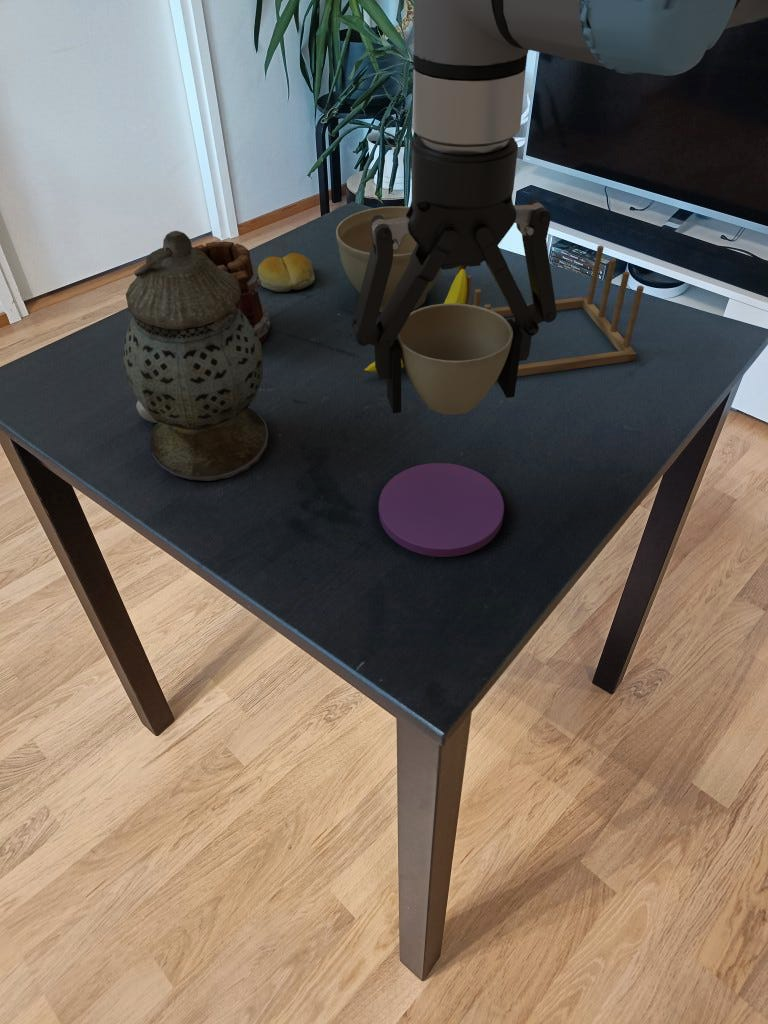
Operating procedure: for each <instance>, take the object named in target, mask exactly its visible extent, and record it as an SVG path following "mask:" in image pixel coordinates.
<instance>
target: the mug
mask: <svg viewBox="0 0 768 1024" xmlns="http://www.w3.org/2000/svg"><path fill="white" fill-rule="evenodd" d="M194 248H197V249H199V250H200V251H202V252H203V253H204V254H205V255H206V256H207V257H208V258H209V259H210V260H211V261H212V262H213V263H214V264H215V265H216V266H217V267H219V268H220V269H222V270H224V271H226V272H228V273H230V274H231V275H232V276H233V277H234V278H235V279H236V280H238V283H239V287H240V291H241V299H240V303H239V305H238V307H237V308H238V309H239V310H240V311H241V312H242V313H243V314H244V315H245V316H246V318H247V320H248V321H249V323H250V324H251V326H252V327H253V329H254V331H255V333H256V335H257V337H258V339H259V341H260V343H261V344H262V343H263V342H264V341H265V340H266V338H267V336H268V333H269V329H270V327H271V321H270V316H269V309H268V307H265V306H264V305H263V304H262V303H261V299H260V294H259V291H258V290H259V289H260V287H261V286H262V285H261V281H260V278H259V274H258V267H255V266H254V265H253V264H252V260H251V259H252V258H251V255H250V250H249V249H248V248H247V247H246V246H245V245H243V244H241V243H235V242H232V241H226V240H225V241H224V240H223V241H210V242H206V244H205V246H204V245H203V244H199V245H196V246H194Z"/></svg>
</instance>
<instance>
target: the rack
mask: <svg viewBox="0 0 768 1024" xmlns="http://www.w3.org/2000/svg"><path fill="white" fill-rule="evenodd" d="M604 248H605V247H604V246H603V245H597V248H596V253H595V258H594V263H593V268H592V274H591V279H590V285H589V289H588V293H587V296H580V297H571V298H564V299H555V305H556V312H559V311H567V310H574V309H581V308H582V310H584V312H585V313H586V314H587V315H588V316H589V318H590V319H591V320H592V321H593V322H594V324H595V325H596V326H597V327H598V328H599V330H600V331H601V332H602V333H603V334H604V336H605V337H606V338H607V339H608V340H609V341H610V343H611V344H612V345H613V347H615V349H616V350H617V351H610V352H603V353H595V354H587V355H581V356H574V357H566V358H565V357H564V358H558V359H550V360H543V361H536V362H528V363H522V364H520V363H519V366H518V373H517V378H518V377H525V376H533V375H541V374H547V373H553V372H561V371H569V370H576V369H583V368H590V367H598V366H605V365H612V364H619V363H620V364H621V363H626V362H627V363H628V362H634V361H635V359H636V355H637V352H636V351H635V350H634V348H633V347H631V345H630V344H631V340H632V337H633V332H634V330H635V329H634V328H635V325H636V320H637V317H638V313H639V309H640V304H641V301H642V297H643V293H644V289H645V287H644V285H637V286H636V289H635V290H636V291H635V295H634V299H633V303H632V307H631V311H630V314H629V320H628V323H627V327H626V331H625V334H624V335H625V336H624V337H623V336H622V335H621V334H620V333H619V332H618V330H617V329H618V325H619V321H620V316H621V312H622V307H623V304H624V299H625V295H626V291H627V287H628V282H629V278H630V271H623V272H622V277H621V281H620V286H619V290H618V294H617V299H616V304H615V308H614V312H613V315H612V321H611V322H610V321H609V320H608V319H607V318H606V316H605V313H606V309H607V304H608V300H609V296H610V291H611V287H612V282H613V278H614V272H615V267H616V263H617V259H616V258H614V257H611V258H610V259H609V261H608V268H607V272H606V277H605V281H604V287H603V291H602V296H601V301H600V305H599V308H598V307H597V306H596V305H595V304H594V303H593V302H594V299H595V298H594V297H595V292H596V287H597V282H598V278H599V272H600V268H601V262H602V257H603V252H604ZM461 269H462V265H461V266H458V267H456V275H457V274H458V273H459V272H460V270H461ZM466 277H467V294H466V301H465V304H467V305H471V296H472V283H473V282H472V281H473V276H472V275H471V274H466ZM481 297H482V289H480V288H476V289H474V298H473V305H474V306H479V307H481ZM526 304H527V306H528V305H530V304H533V302H531V303H526ZM483 308H486V309H489V310H491V311H494V312H496V313H498V314H499V315H501V316H502V317H504V318H509V317H510V318H511V317H514V315H513V313H512V312H511V310H510V308H509V306H508V305H507V306H499V307H492V305H491V304H489V303H486V304H484V307H483ZM497 380H498V378H497Z"/></svg>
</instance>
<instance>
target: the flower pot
mask: <svg viewBox="0 0 768 1024" xmlns="http://www.w3.org/2000/svg"><path fill="white" fill-rule="evenodd" d="M507 320H508V319H506V317H502V316H501V315H499V314H498V313H496V312H494V311H491V310H489V309H486V308H484V307H482V306H480V307H479V306H474V304H470V305H467V304H457V303H447V304H444V303H438V304H431V305H427V306H423V307H419V308H417V309H415V310H412V312H411V314H410V315H409V317H408V319H407V321H406V322H405V324H404V326H403V327H402V329H401V331H400V333H399V334H398V336H397V341H398V343H399V346H400V348H401V359H402V362H403V365H404V367H403V368H404V370H405V373H406V375H407V377H408V380H409V382H410V383H411V385H412V388H413V389H414V390H415V393H416V394H417V395H418V397H419V398H420V400H421V401H422V402H423V403H424V404H425V406H426V407H427V408H428V409H430V410H431V411H433V412H435V413H438V414H440V415H441V414H442V415H448V416H449V415H450V416H452V415H453V416H456V415H463V414H465V413H468V412H471V411H472V410H474V409H475V408H476V407H477V406H478V405H479V404H480V403H481V402H482V401H483V400H484V398H485V397H486V396H487V395H488V393H489V392H490V391H491V389H492V388H493V386H494V385H495V383H496V382H497V381H498V379H497V378H498V376H499V375H500V373H501V371H502V368H503V366H504V364H505V361H506V359H507V356H508V353H509V351H510V347H511V343H512V339H513V329H512V327H511V325H510V323H509V322H508V321H507Z"/></svg>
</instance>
